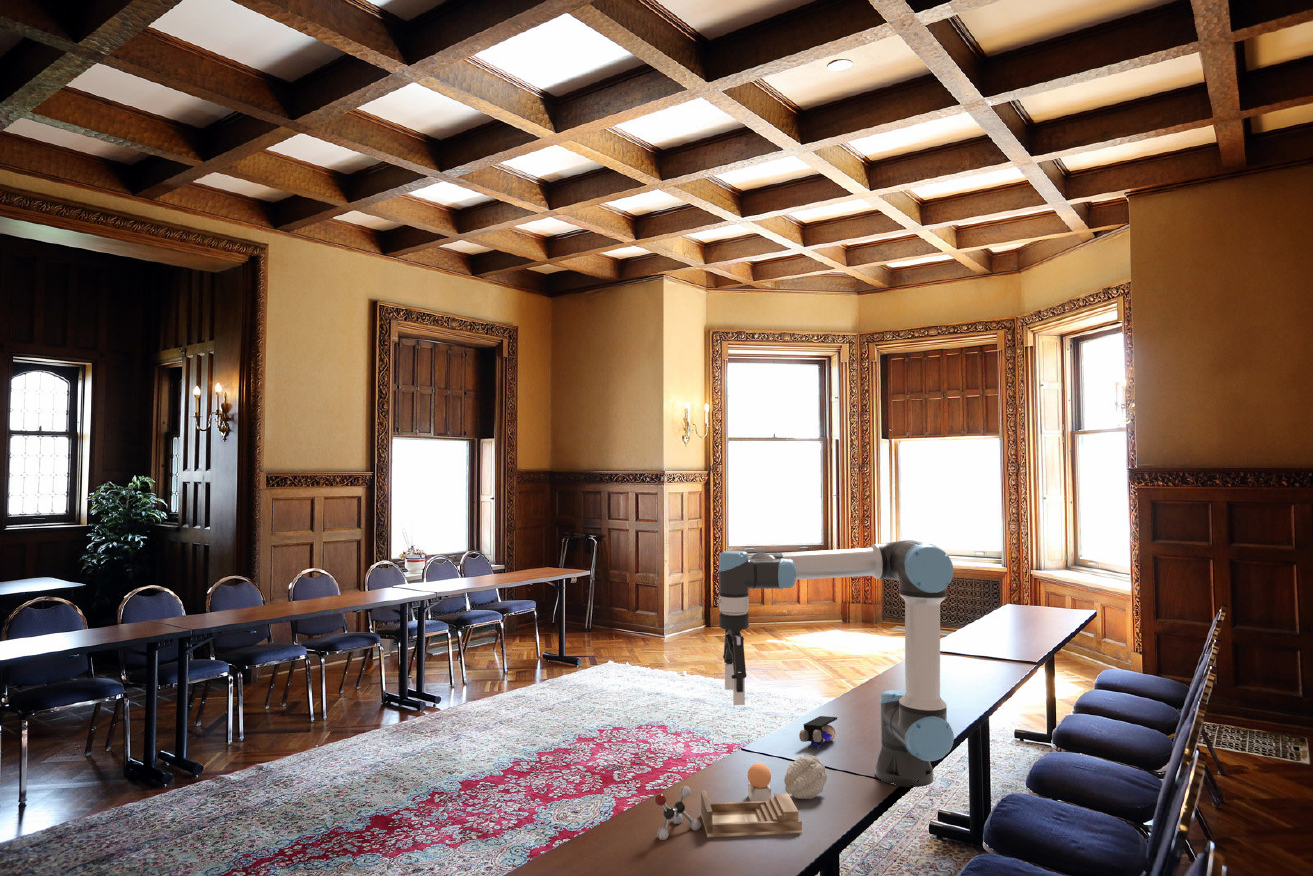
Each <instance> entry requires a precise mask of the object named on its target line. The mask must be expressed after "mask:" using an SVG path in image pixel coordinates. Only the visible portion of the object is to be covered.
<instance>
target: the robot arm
mask: <svg viewBox="0 0 1313 876" xmlns="http://www.w3.org/2000/svg"><path fill="white" fill-rule="evenodd" d="M717 570H718V594H719V595H718V597H719V599H716V603H717V604H719V605H718V607H719V611H720V612H719V614H718V625H719V628H720V629H722V630H724V642H723V643H724V644H723V645H724V646H723V647H724V648H723V656H722V657H723V660H724V661H723V662H724V689H725V691H728V690H729V691H732V690H733V692H732V693H733V694H732V695H733V696H732V699H733V700H732V701H733V703H732V704H733V706H745V703H746V700H745V699H746V691H745V684H746V683H745V682H746V681H745V679H746V678H747V667H746V660H745V659H746V657H745V646H744V645H745V643H744V640H745V638H744V636H743V635H742V634H741V631H744V630H746V629H748V628H750V627H749V626H750V618H749V615H750V614H749V613H748V612H749V611H750V608H749V607H750V595H749V589H750V590H751V589H752V590H754V589H757V590H758V589H760V590H761V589H764V590H765V589H776V590H777V589H779V590H784V589H792V588H793V587H794V586H795V584H796V581H797V580H812V579H814V580H815V579H816V580H817V579H833V578H834V579H835V578H854V577H856V578H857V577H873V578H874V579H876V580H892V581H898V593H899V597H900V598H902V599H903V600H904V604H905V607H904V610H905V612H904V623H905V625H904V632H905V633H904V638H905V639H904V643H905V644H904V648H905V649H904V653H905V654H904V661H905V662H904V665H905V667H904V670H905V671H904V678H905V679H904V682H905V683H904V686H905V687H904V689H889V690H885V691H883V692H882V693H881V695H880V703H879V705H880V733H881V734H880V736H881V737H880V738H881V746H880V749H879V753H878V755H877V759H876V762H875V767H874V768H875V771H874V772H875V776H876V777H877V779H879V780H880V779H881V780H880V781H882V780H883V781H882V782H884V781H885V782H884V783H886V782H888V783H887V784H889V783H894V784H896V785H899V786H898V787H903V788H919V787H926V786H928V785H931V784H932V783H933V782H934V769H933V767H932V764H931V762H935V761H938V760H940V759H943V758H944V757H945V756H946V755H947V754H949V752H950V751H951V749H952V748H953V746H954V745H953V744H954V741H955V740H954V739H955V736H954V732H953V728H952V726H951V724H950V723H949V722H948V718H947V716H948V715H947V713H948V711H947V709H948V708H947V703H946V701H944V700H943V699H942V697H941V603H942V602H943V601H944V600H945V599H947V587H948V586H949V584H951V583H952V580H953V576H954V565H953V562H952V560H951V558H950V556H949V555H948V554H947V553H946V552H945V550H943V549H941V548H940V547H939V546H937V545H934V544H932V543H928V542H921V541H917V540H912V539H906V540H899V541H898V540H897V541H892V542H883V543H873V544H871V546H870V547H864V548H863V547H862V548H844V549H843V548H842V549H826V550H825V549H824V550H822V549H821V550H809V551H807V550H806V551H790V552H789V551H787V552H785V551H784V552H773V553H771V552H769V553H767V552H764V551H763V552H762V551H761V552H756V553H753V554H751V556H750V557H749V554H748V552H747V551H742V550H725V551H723V552H720V555H719V559H718V569H717ZM918 780H919V781H918ZM917 781H918V782H917ZM896 785H895V786H896ZM911 785H913V787H911Z"/></svg>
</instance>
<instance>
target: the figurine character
mask: <svg viewBox="0 0 1313 876" xmlns="http://www.w3.org/2000/svg"><path fill="white" fill-rule="evenodd" d="M837 720H838V716H828V715H827V716H826V715H825V716H824V715H820V716H816V718H813V719H812V720H809V721H808V722H806V723H803V729H801V730H800V732H799V735H798V736H799V741H800V742H804V743H807V742H810V744H809V745H808V746H807V748H809V749H810V748H811V747H813V746H816V747H815V749H818V748H820V747H821V746H822V744H823V743H824V742H831V741H833V740H834V739H835V737H836V730H835V729H834V727H833V726H832V725H830V724H831V723H833V722H834V721H837Z"/></svg>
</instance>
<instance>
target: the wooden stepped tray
mask: <svg viewBox="0 0 1313 876" xmlns="http://www.w3.org/2000/svg"><path fill="white" fill-rule="evenodd" d="M700 815H701V819H702V823H703V826H704V830H705V833H706V837H707V838H718V837H721V838H722V837H737V836H738V837H739V836H741V837H742V836H759V835H760V836H761V835H763V836H765V835H783V834H784V835H785V834H786V835H787V834H803V822H802V820H801V819H799V810H798V808H797V806H796V805H795V803H794V801H793V800H792V798H791V796H790V794H788V793H787V792H785V793H782V792H781V793H774V796H771V797H770V801H728V802H725V801H724V802H710V799H709V797H708V792H707V790H700Z"/></svg>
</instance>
